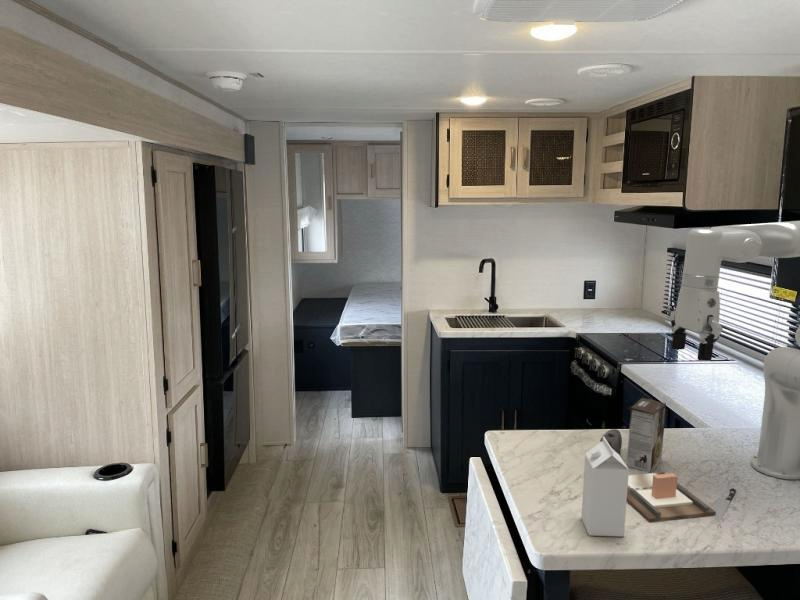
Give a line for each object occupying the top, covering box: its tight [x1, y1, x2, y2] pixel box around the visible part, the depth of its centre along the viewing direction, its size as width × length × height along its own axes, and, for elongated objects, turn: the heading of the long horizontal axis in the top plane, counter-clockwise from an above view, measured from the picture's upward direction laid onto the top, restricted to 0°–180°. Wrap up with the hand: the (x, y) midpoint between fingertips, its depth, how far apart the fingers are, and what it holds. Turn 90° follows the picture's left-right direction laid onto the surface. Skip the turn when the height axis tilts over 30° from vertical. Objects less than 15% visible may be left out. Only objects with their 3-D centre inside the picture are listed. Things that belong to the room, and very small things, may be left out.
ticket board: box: [626, 472, 716, 523], centre depth 141 cm, size 16×19×2 cm
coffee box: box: [626, 397, 667, 474], centre depth 157 cm, size 9×6×16 cm
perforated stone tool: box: [599, 428, 623, 455], centre depth 163 cm, size 15×5×7 cm, turn 150°
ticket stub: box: [637, 472, 693, 508], centre depth 138 cm, size 10×7×6 cm
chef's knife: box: [712, 487, 737, 523], centre depth 138 cm, size 19×1×3 cm
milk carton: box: [580, 435, 630, 537], centre depth 127 cm, size 7×7×19 cm
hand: (690, 354), depth 143 cm, fingers open, 9 cm apart
